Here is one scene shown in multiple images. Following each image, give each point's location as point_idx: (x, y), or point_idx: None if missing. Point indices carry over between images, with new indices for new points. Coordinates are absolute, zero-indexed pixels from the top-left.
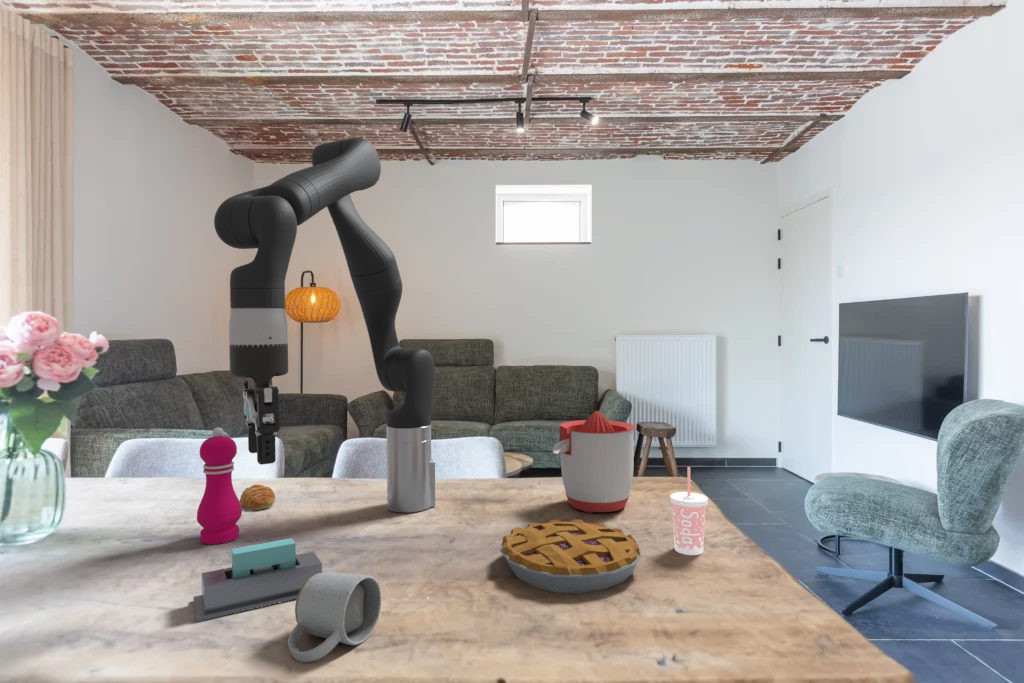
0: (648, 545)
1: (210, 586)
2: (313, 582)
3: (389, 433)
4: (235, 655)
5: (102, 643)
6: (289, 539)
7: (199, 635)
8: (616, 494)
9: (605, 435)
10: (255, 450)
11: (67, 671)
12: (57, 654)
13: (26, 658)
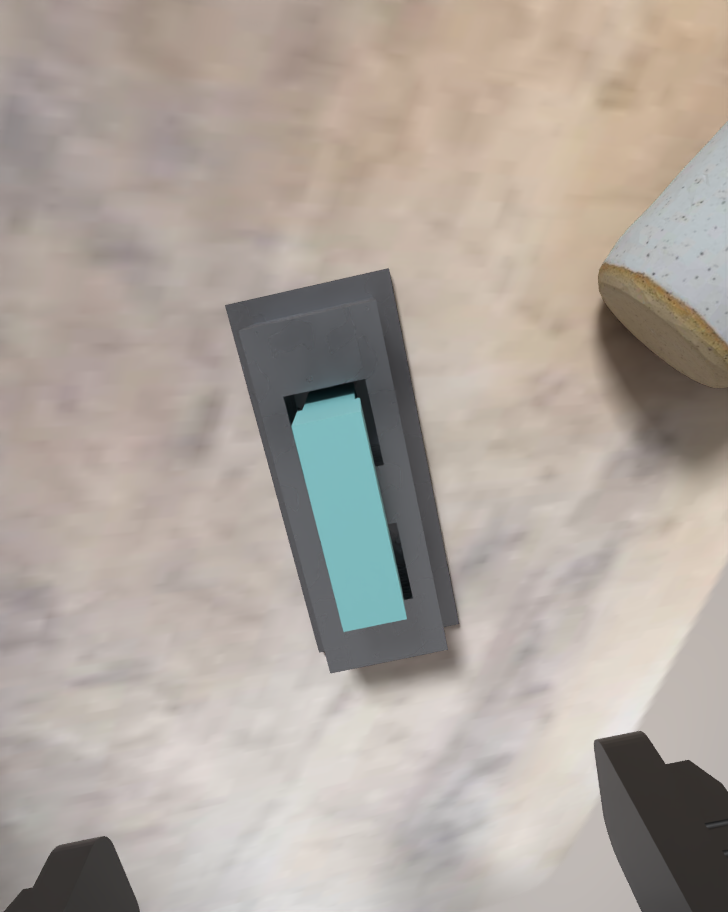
0: None
1: (444, 633)
2: None
3: None
4: (673, 508)
5: (485, 778)
6: (305, 436)
7: (532, 599)
8: None
9: None
10: (123, 904)
11: (584, 802)
12: (501, 839)
13: (495, 881)
